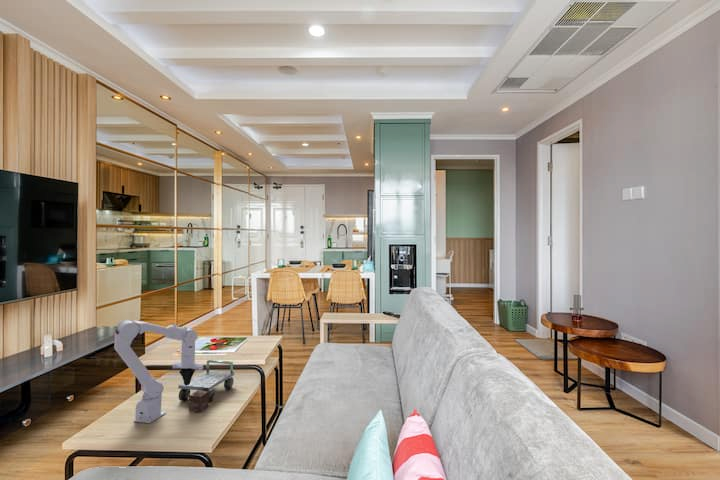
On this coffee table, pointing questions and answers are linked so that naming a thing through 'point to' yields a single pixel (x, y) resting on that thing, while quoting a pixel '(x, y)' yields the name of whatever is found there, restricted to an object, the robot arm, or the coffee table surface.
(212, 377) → the trolley
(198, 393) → the box
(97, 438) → the coffee table surface
